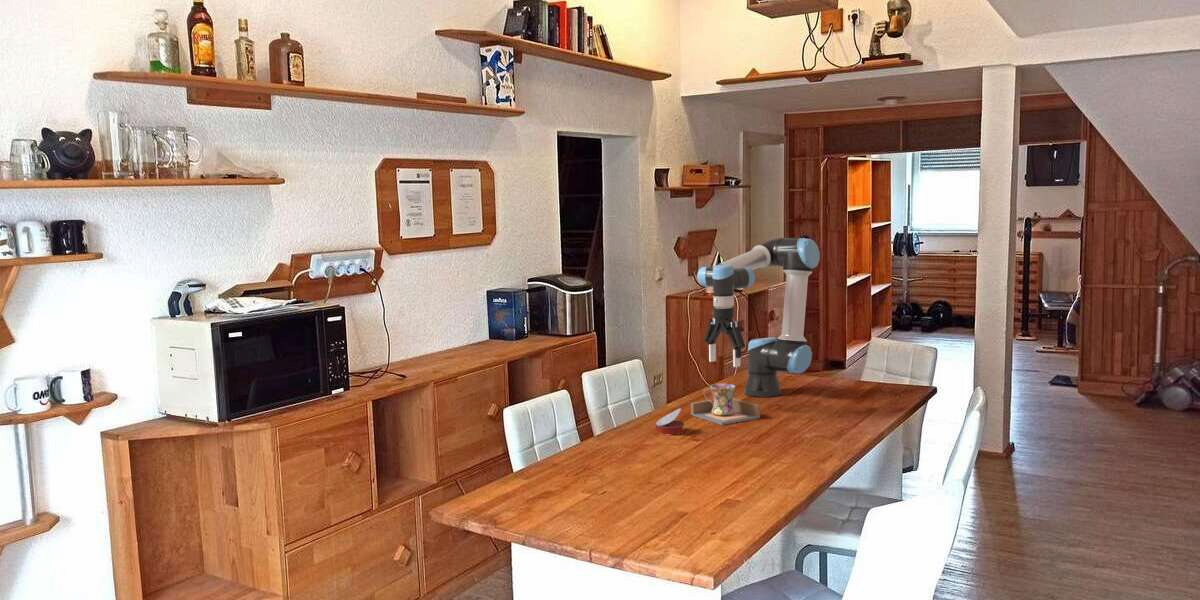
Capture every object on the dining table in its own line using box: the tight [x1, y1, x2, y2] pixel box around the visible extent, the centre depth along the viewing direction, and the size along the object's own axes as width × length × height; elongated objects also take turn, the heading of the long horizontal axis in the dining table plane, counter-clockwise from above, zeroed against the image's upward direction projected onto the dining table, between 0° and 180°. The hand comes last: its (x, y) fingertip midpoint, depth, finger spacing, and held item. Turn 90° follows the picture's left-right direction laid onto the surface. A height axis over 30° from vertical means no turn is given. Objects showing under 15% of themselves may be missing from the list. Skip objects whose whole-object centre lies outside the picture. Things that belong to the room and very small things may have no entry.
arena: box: [690, 397, 761, 426], centre depth 339 cm, size 18×18×5 cm
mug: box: [702, 383, 736, 416], centre depth 339 cm, size 12×9×11 cm
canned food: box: [655, 408, 685, 435], centre depth 319 cm, size 11×10×10 cm
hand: (724, 364), depth 338 cm, fingers open, 13 cm apart
